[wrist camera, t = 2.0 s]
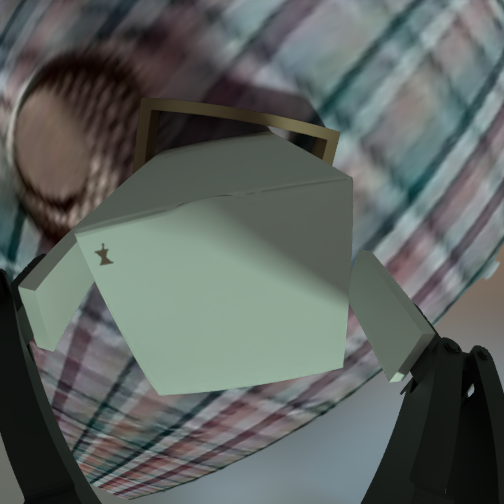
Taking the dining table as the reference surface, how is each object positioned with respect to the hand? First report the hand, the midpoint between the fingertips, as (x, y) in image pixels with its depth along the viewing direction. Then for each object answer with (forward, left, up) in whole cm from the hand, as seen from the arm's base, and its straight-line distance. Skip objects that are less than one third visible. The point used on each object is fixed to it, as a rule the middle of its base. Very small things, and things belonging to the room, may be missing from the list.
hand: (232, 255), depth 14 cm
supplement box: (0, 0, -10) cm, 10 cm away
